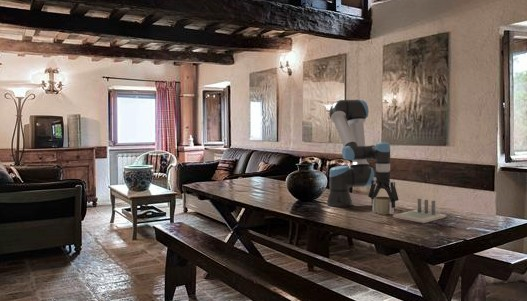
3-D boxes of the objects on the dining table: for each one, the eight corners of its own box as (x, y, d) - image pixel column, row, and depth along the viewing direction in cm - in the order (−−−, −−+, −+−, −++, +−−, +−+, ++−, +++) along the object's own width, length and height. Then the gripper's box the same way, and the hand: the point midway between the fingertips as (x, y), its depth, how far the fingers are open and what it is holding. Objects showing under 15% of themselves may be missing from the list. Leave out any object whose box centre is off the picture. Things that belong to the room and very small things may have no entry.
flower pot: (379, 216, 228) (379, 199, 227) (370, 212, 237) (370, 197, 236) (395, 214, 230) (395, 198, 230) (386, 211, 239) (386, 196, 239)
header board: (392, 217, 224) (392, 201, 224) (414, 212, 236) (414, 197, 236) (424, 222, 210) (424, 206, 209) (446, 217, 222) (446, 201, 222)
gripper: (361, 170, 239) (361, 210, 240) (397, 173, 221) (397, 216, 222) (370, 169, 244) (370, 208, 245) (405, 172, 226) (405, 214, 227)
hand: (383, 212), depth 234 cm, fingers open, 10 cm apart
